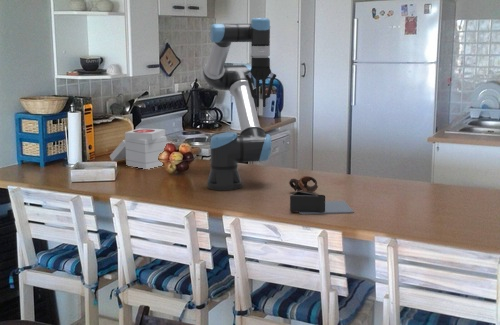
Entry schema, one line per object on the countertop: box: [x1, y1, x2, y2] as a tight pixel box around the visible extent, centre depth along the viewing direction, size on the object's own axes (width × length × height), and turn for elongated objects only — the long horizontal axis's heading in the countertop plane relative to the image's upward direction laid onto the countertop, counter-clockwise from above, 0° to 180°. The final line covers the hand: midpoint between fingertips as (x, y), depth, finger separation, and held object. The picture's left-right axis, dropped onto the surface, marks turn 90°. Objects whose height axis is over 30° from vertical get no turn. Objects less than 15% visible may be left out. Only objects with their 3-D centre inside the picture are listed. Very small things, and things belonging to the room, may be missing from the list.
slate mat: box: [298, 200, 355, 215], centre depth 237 cm, size 20×16×1 cm
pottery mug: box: [288, 175, 319, 193], centre depth 259 cm, size 12×10×8 cm
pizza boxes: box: [109, 128, 168, 170], centre depth 321 cm, size 19×30×18 cm, turn 51°
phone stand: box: [289, 190, 326, 213], centre depth 231 cm, size 9×6×12 cm
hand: (260, 114), depth 257 cm, fingers closed
